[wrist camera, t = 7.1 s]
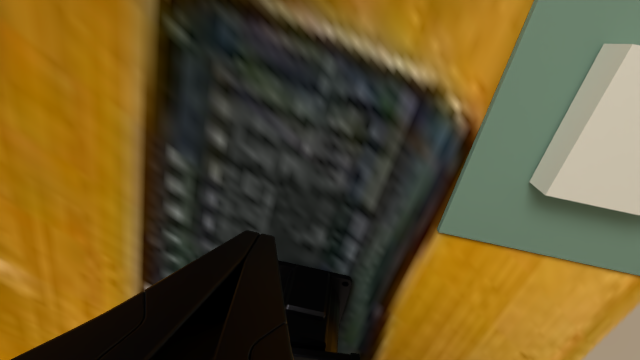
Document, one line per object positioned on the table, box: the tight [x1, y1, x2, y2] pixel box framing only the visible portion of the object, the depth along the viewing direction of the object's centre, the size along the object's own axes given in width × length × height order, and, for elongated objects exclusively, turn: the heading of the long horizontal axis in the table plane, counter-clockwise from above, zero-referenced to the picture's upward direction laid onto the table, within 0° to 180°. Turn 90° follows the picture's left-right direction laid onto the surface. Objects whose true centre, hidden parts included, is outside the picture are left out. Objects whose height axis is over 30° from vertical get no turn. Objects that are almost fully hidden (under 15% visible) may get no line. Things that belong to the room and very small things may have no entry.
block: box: [529, 44, 640, 215], centre depth 17 cm, size 8×2×7 cm
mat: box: [437, 0, 640, 276], centre depth 18 cm, size 18×16×1 cm
